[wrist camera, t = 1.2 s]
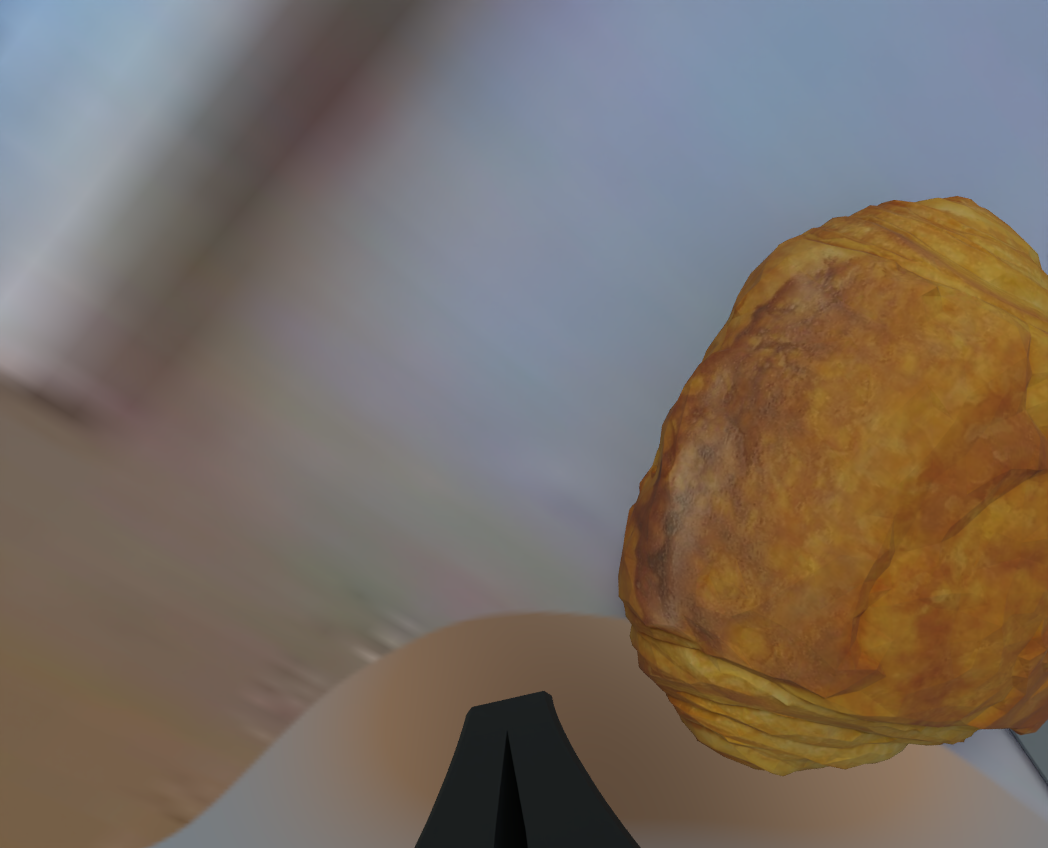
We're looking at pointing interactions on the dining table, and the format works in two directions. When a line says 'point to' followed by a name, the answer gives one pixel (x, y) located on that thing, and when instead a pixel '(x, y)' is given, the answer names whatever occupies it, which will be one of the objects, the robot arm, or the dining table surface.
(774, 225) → the dining table surface
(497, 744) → the robot arm
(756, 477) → the croissant
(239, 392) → the dining table surface
